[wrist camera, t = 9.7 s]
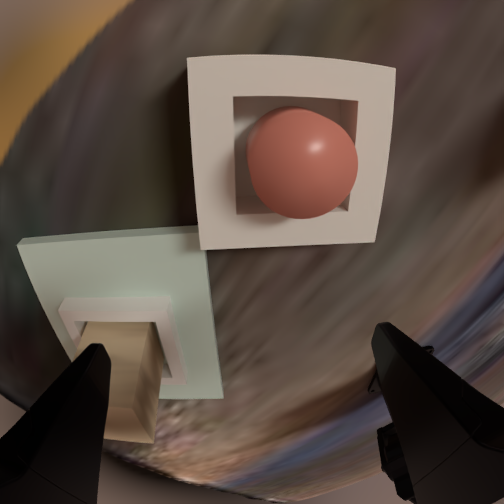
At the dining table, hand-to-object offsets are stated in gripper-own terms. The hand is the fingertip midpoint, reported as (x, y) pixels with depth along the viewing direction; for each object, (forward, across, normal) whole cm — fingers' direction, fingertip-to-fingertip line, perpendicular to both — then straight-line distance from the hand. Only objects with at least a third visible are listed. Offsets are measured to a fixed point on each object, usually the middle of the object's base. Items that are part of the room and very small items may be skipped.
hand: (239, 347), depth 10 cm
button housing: (+11, -3, -4) cm, 12 cm away
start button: (+10, -3, -3) cm, 11 cm away
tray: (+11, +9, +10) cm, 18 cm away
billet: (+10, +9, +10) cm, 17 cm away
